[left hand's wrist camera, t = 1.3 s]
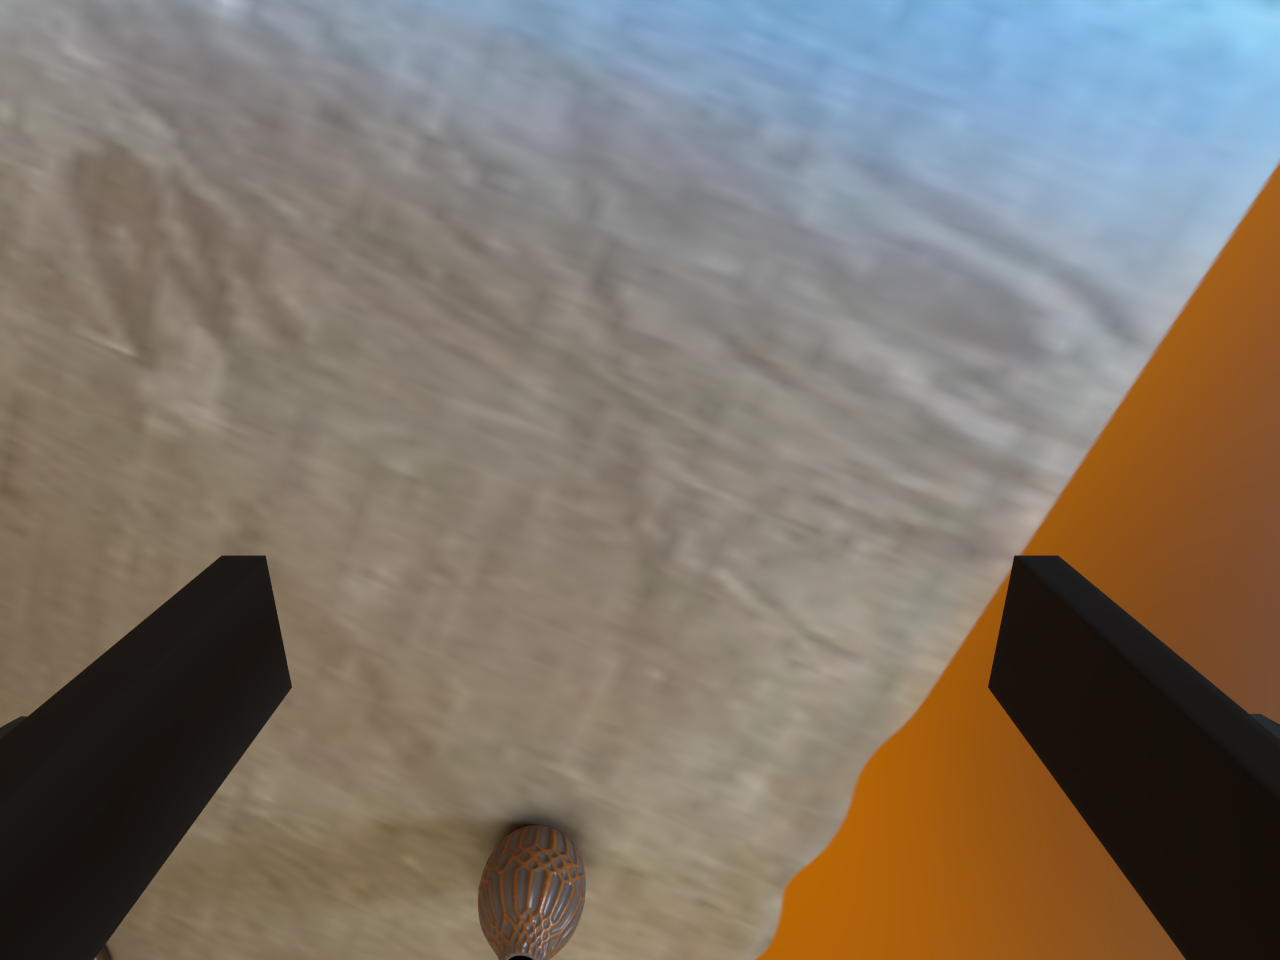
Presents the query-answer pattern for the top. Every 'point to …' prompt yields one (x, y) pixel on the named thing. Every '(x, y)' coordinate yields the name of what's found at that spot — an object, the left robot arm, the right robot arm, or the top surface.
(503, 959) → the lattice patterned pot
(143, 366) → the top surface
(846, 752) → the top surface
